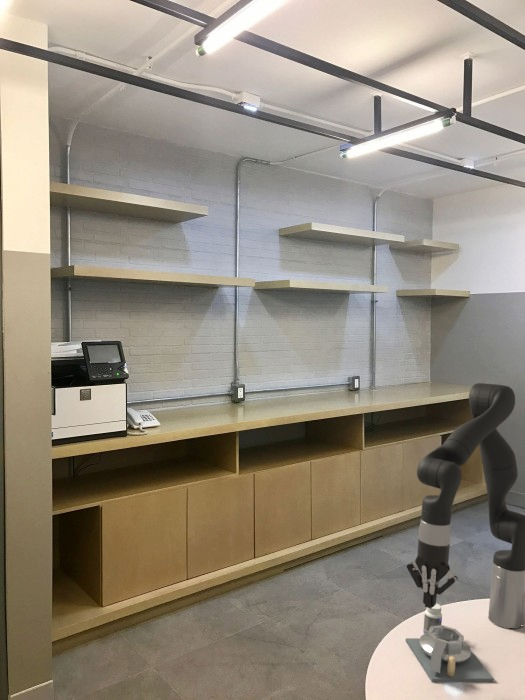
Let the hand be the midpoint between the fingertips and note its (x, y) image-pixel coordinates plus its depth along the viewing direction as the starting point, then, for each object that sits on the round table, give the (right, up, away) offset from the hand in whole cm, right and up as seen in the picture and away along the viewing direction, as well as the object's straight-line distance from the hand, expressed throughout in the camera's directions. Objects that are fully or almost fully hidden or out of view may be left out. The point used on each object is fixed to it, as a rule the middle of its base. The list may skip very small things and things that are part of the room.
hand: (429, 606), depth 144 cm
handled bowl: (+5, -15, +6) cm, 17 cm away
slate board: (+6, -17, +6) cm, 19 cm away
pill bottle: (+6, -16, +19) cm, 26 cm away
